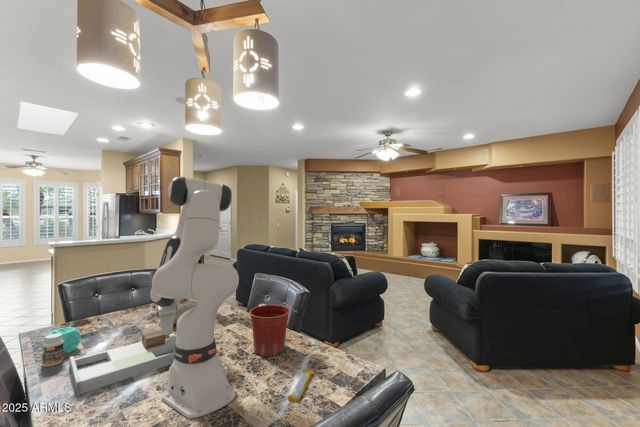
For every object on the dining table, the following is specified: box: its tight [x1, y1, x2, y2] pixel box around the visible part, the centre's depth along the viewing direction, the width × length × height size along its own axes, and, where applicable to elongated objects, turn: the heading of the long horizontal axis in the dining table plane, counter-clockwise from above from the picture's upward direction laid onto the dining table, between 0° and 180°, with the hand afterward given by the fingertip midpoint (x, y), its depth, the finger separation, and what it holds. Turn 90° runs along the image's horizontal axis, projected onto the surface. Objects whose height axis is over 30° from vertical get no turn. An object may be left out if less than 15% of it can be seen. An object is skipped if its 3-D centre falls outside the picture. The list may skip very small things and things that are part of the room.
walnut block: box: [141, 328, 166, 349], centre depth 115 cm, size 7×7×4 cm
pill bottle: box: [41, 333, 65, 367], centre depth 104 cm, size 6×6×10 cm
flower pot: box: [248, 304, 291, 358], centre depth 117 cm, size 16×16×16 cm
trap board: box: [69, 333, 176, 396], centre depth 105 cm, size 22×34×4 cm, turn 135°
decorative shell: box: [173, 300, 197, 325], centre depth 146 cm, size 18×18×10 cm
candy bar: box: [286, 369, 315, 402], centre depth 92 cm, size 17×4×2 cm, turn 166°
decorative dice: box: [42, 326, 81, 355], centre depth 113 cm, size 8×8×8 cm
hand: (167, 337), depth 118 cm, fingers closed
